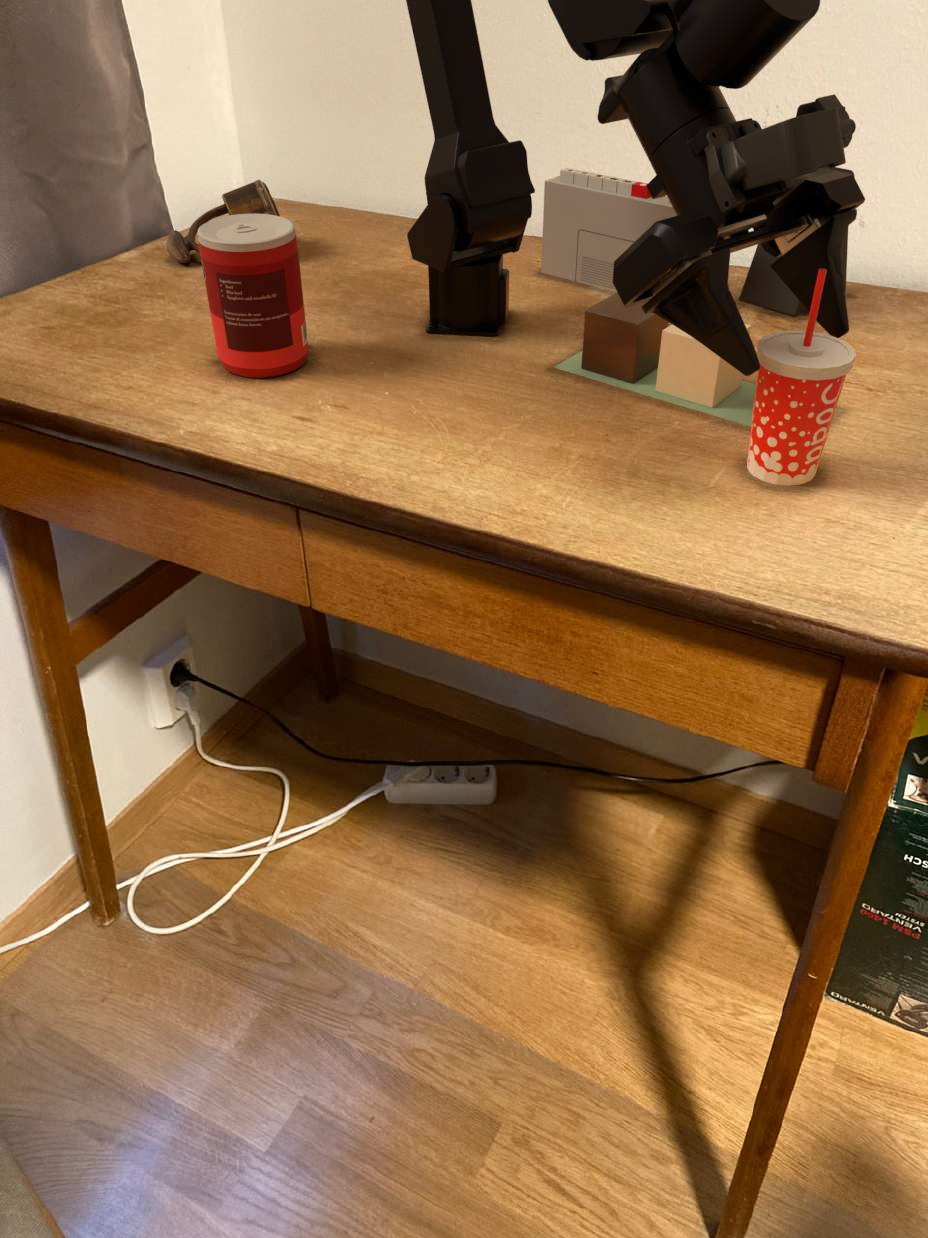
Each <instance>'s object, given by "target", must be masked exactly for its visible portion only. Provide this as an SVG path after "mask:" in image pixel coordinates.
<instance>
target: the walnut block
mask: <svg viewBox="0 0 928 1238" xmlns="http://www.w3.org/2000/svg"><path fill="white" fill-rule="evenodd" d="M648 301H649V300H648ZM648 301H645V302H642V303H639V304H636V305H633V306H630V307H627V308H625V306H624V304H623V302H622V300H621V298H620V296H619V294H618V293H617V292H615V293H614V294H612V295H610V296H609V297H606V298H605V299H602V300H601V301H599V302H597V303H595V304H593V305H592V306H589V307H588V308H586V309H585V310H584V320H583V335H582V349H581V351H582V364H581V369H584V370H588V371H591V372H594V373H598V374H601V375H604V376H608V377H611V378H614V379H618V380H621V381H625V382H628V383H631V384H634V383H635V382H637V381H638V380H640V379H641V378H643V377H645V376H646V375H648V374H649V373H651V372H652V371H654V370H655V369H657V368H658V364H659V356H660V347H661V339H662V331H663V330H664V329H665V328H667V327H669V324H670V323H669V322H668V321H666V320H664V319H663V318H661V317H659V316H658V315H656V314H654V313H649V314H645V313H644V312H643V310H642V309H641V307H642V306H643V305H644V304H645V303H646V302H648Z"/></svg>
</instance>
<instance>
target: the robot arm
mask: <svg viewBox="0 0 928 1238" xmlns="http://www.w3.org/2000/svg"><path fill="white" fill-rule="evenodd" d="M472 2H473V1H472V0H405V3H406V7H407V11H408V16H409V20H410V26H411V30H412V35H413V40H414V44H415V45H414V46H415V49H416V54H417V59H418V65H419V68H420V73H421V79H422V82H423V88H424V93H425V97H426V102H427V106H428V110H429V115H430V116H429V117H430V120H431V125H432V126H431V127H432V130H433V137H434V139H433V140H434V142H433V145H432V149H431V152H430V155H429V159H428V163H427V167H426V169H425V174H424V189H425V195H426V202H427V203H426V206H425V208H424V209H423V211H422V212H421V214H420V215H419V216H418V218H417V219H416V221H415V222H414V223H413V225H412V226H411V228H410V229H409V230H408V232H407V236H406V237H407V242H408V246H409V250H410V254H411V259H412V260H414V261H416V262H419V263H421V264H423V265H426V266H427V270H428V271H427V273H428V299H429V300H428V308H429V309H428V310H429V320H428V322H427V324H426V327H425V333H426V334H428V335H439V336H458V337H459V336H460V337H461V336H462V337H483V338H484V337H485V338H486V337H487V338H497V337H498V336H499V334H500V330H501V327H502V326H503V325H505V324H506V322H507V320H508V315H509V311H510V310H509V309H510V307H509V305H510V270H509V269H508V268H504V255H506V254H511V253H513V254H514V253H517V252H519V251H520V249H521V245H522V241H523V238H524V234H525V230H526V226H527V224H528V221H529V219H531V218H532V215H533V214H532V213H533V201H532V195H531V194H535V192H536V189H535V187H534V184H533V183H532V179H531V175H530V173H529V166H528V165H529V163H528V152H527V151H528V150H527V148H526V147H525V144H524V143H523V141H522V140H521V139H519V140H514V141H509V140H508V138H507V137H506V136H505V135H504V133H503V132H502V131H501V130H500V128H499V127H498V126H497V125H496V122H495V118H494V113H493V107H492V103H491V97H490V92H489V86H488V82H487V81H488V80H487V77H486V71H485V65H484V61H483V56H482V50H481V44H480V41H479V40H480V39H479V34H478V29H477V24H476V19H475V13H474V7H473V3H472ZM547 3H548V6H549V8H550V10H551V12H552V14H553V16H554V17H555V20H556V22H557V24H558V26H559V28H560V30H561V32H562V34H563V36H564V38H565V40H566V42H567V44H568V45H569V47H570V49H571V51H572V52H574V53H575V55H577V56H578V57H579V58H580V59H582V60H584V61H587V62H588V61H592V62H593V61H594V62H595V61H602V60H603V61H604V60H611V59H616V58H621V57H623V58H624V57H629V56H635V55H638V56H637V57H636V58H635V59H634V61H633V62H632V63H631V64H630V66H629V67H628V68H627V69H626V71H625V72H624V73H623V74H621V75H615V76H610V77H607V78H605V80H604V90H603V91H604V92H603V95H602V98H601V100H600V103H599V105H598V111H597V112H598V113H597V121H598V123H599V124H601V125H605V124H611V123H615V122H619V121H624V120H628V121H629V123H630V125H631V127H632V129H633V131H634V133H635V136H636V137H637V139H638V141H639V143H640V145H641V147H642V149H643V151H644V153H645V155H646V157H647V159H648V161H649V163H650V166H651V167H652V169H653V171H654V173H655V176H654V177H653V178H652V179H651V180H650V181H649V182H648V183H647V185H646V187H647V189H648V191H649V193H650V195H651V197H652V199H656V198H659V197H663V196H667V197H668V199H669V201H670V203H671V205H672V207H673V209H674V211H675V213H676V215H677V216H674V217H671V218H667V219H664V220H660V221H656V222H655V223H654V224H653V225H652V226H651V227H650V228H649V229H648V230H647V231H646V232H644V233H643V234H642V235H641V236H640V237H639V238H638V239H637V240H636V241H635V242H634V243H633V244H632V245H631V246H630V247H629V248H628V249H627V250H626V251H625V252H624V253H623V254H622V255H621V256H619V257H618V258H617V259H616V260H615V261H614V268H613V281H612V282H613V284H614V286H615V288H616V290H617V292H618V294H619V296H620V298H621V300H622V302H623V304H624V306H625V308H627V307H630V306H633V305H636V304H639V303H642V302H645V301H648V300H649V301H648V302H646V303H645V304H644V305H643V306H642V307H641V309H642V310H643V312H644V313H645V314H649V313H654V314H656V315H658V316H659V317H661V318H663V319H664V320H666V321H668V322H669V324H670V325H674V326H676V327H677V328H679V329H680V330H682V331H684V332H685V333H687V334H688V335H690V336H691V337H693V338H694V339H696V340H697V341H698V342H700V343H702V344H703V345H704V346H706V347H707V348H708V349H710V350H711V351H712V352H714V353H715V354H716V355H718V356H719V357H720V358H722V359H723V360H725V361H726V362H727V363H729V364H730V365H731V366H733V367H734V368H735V369H737V370H738V371H740V372H741V373H742V374H743V376H744V377H745V376H746V377H750V376H752V375H753V374H755V373H756V372H758V370H759V369H760V363H759V360H758V357H757V354H756V352H757V350H756V347H755V344H754V343H753V340H752V338H751V334H750V335H749V333H748V331H747V329H746V326H745V324H746V323H745V322H744V320H743V317H742V315H741V313H740V310H739V308H738V306H737V304H736V302H735V301H736V300H735V299H734V297H733V294H732V291H731V290H730V287H729V272H730V262H731V261H730V260H731V254H732V253H736V252H738V251H741V250H744V249H748V248H751V247H754V246H757V245H758V244H761V246H762V248H763V250H764V251H766V252H767V253H769V254H770V255H772V256H774V257H775V258H776V257H779V256H781V257H780V258H779V259H777V260H776V261H775V262H773V263H772V264H771V265H770V267H771V268H772V269H773V271H774V272H775V273H776V274H777V275H778V277H779V278H780V279H781V280H782V281H783V282H784V284H785V285H786V286H787V287H788V288H789V289H790V290H791V292H792V293H793V294H794V295H795V296H796V297H797V299H798V300H799V301H800V302H801V303H802V305H803V306H804V307H805V308H806V309H807V310H808V312H809V313H808V314H810V309H811V304H812V300H813V295H814V290H815V285H816V281H817V276H818V271H819V269H821V268H823V269H826V270H827V272H826V277H825V281H824V286H823V291H822V295H821V300H820V305H819V309H818V314H817V319H816V323H818V325H819V326H821V328H822V329H823V330H824V331H825V332H826V333H827V334H828V335H831V336H833V337H836V338H838V339H841V338H842V337H844V336H846V335H847V334H848V333H849V331H850V324H849V322H850V321H849V315H848V308H847V307H848V306H847V299H846V292H845V291H844V283H843V275H842V262H841V246H842V243H843V240H844V237H845V234H846V232H847V229H848V230H849V226H850V225H851V224H853V223H854V222H855V221H856V220H857V216H858V210H857V209H858V208H859V207H860V206H862V205H863V204H864V203H865V201H866V197H865V195H864V193H863V192H862V189H861V187H860V185H859V184H858V182H857V179H856V177H855V178H854V176H855V175H854V176H853V175H852V174H848V173H843V172H839V171H835V172H831V173H827V174H824V175H820V176H817V177H813V178H810V179H806V180H805V181H804V182H802V183H801V184H800V185H799V186H798V187H796V188H795V189H794V190H793V191H792V192H790V193H789V194H788V195H787V196H786V197H784V198H783V199H782V200H781V201H780V202H778V203H777V204H776V205H774V203H773V202H774V201H775V200H776V199H777V198H779V197H782V196H784V195H785V194H786V193H787V192H789V191H790V190H791V189H792V188H793V187H795V186H796V184H795V182H794V180H793V178H796V177H799V176H802V175H805V174H809V173H812V172H816V171H817V170H818V169H819V168H822V167H825V166H828V167H829V168H833V167H840V166H842V165H845V164H846V163H847V160H846V155H845V154H846V153H845V149H846V148H847V147H849V145H850V143H851V141H852V140H853V135H854V133H855V131H856V128H857V126H856V122H855V120H854V119H852V118H850V115H849V113H848V111H847V110H846V106H843V104H842V102H841V101H840V100H839V98H838V97H837V95H836V94H829V95H825V96H820V97H817V98H815V99H814V101H811V102H807V103H803V104H800V105H799V106H798V107H797V110H796V115H795V116H794V117H791V118H788V119H785V120H782V121H779V122H777V123H774V124H772V125H770V126H769V125H768V126H767V127H764V128H762V126H761V125H760V123H759V122H758V121H757V120H755V119H753V118H752V117H749V118H745V119H741V120H736V118H735V115H734V114H733V112H732V109H731V108H730V105H729V104H728V101H727V100H726V98H725V96H724V93H723V92H722V90H721V87H723V88H725V89H731V90H732V89H733V90H738V89H743V88H744V87H746V86H748V84H749V83H750V82H752V81H753V79H754V78H755V77H756V76H758V74H759V73H761V71H763V69H764V68H765V67H766V66H767V65H768V64H769V63H770V62H771V61H772V60H773V59H774V58H775V57H777V55H778V54H779V53H780V52H781V51H782V50H783V49H784V48H785V47H786V46H787V45H788V44H789V43H790V41H791V40H792V39H794V38H795V36H797V34H799V32H800V31H802V29H803V28H804V27H805V26H806V25H807V24H808V23H809V22H810V21H811V20H812V19H813V18H814V17H815V15H816V14H817V13H818V12H819V8H820V5H821V0H547ZM751 229H752V230H751ZM750 230H751V231H750ZM617 292H616V293H617Z"/></svg>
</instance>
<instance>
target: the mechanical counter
mask: <svg viewBox="0 0 928 1238" xmlns="http://www.w3.org/2000/svg"><path fill="white" fill-rule="evenodd" d="M221 199H222V200H223V204H220V205H218V206H216V207H214V208H211V209H210V210H207V211H206V212H205V213H203V214H201V215H200V216H199V217H198V218H196V220H194V222H192V224H191V226H190V228H189V229H188V233H187V234H186V235H185V236H183V234H182V233H181V232H180V231H178V230H176V229H174V230H171V232H169V234H168V236H167V238H166V250H167V253H168V254H169V256H170V257H171V258H172V259H174V261H176V262H177V263H180V264H187V263H189V262H191V251H195V252H196V253H197V254H199V255H200V248H199V243H197V242H196V235H198V229H199V227H200V226H202V225H203V224H205V223H207V222H208V221H211V220H213V219H216V218H220V217H223V216H225V215H227V214H228V216H230V215H237V214H269V215H275V216H280V217H281V215H280V212H279V210H278V208H277V205H276V202H275V200H274V198H273V195H271V192H270V189H269V188H268V185H267V184H266V183H265V182H264V181H262V180H261V179H256V180H255V181H253V182H250V183H247V184H245V185H242V186H240V187H238V188H235V189H232V190H230V191H227V192H225V193H222V195H221Z"/></svg>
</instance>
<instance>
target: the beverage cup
mask: <svg viewBox="0 0 928 1238" xmlns="http://www.w3.org/2000/svg"><path fill="white" fill-rule="evenodd" d="M826 272H827V270H826V269H823V268H821V269H819V271H818V276H817V281H816V285H815V290H814V295H813V300H812V304H811V309H810V313H808V319H807V324H806V329H805V330H795V329H791V330H782V331H781V330H780V331H774V332H771V333H768V334H766V335H763V336H762V337H761V338H760V339H759V340H758V341H757V343H756V354H757V357H758V360H759V363H760V369H759V370H758V371H757V373H756V380H755V381H756V383H755V384H756V390H755V398H754V407H753V416H752V424H751V427H750V433H749V441H748V450H747V451H748V452H747V459H746V467H747V469H746V470H747V471H748V472H749V473H750V474H751V475H752V477H755V478H757V479H759V480H760V481H762V482H765V483H769V484H773V485H776V486H787V487H791V486H798V485H799V486H800V485H803V484H806V483H809V482H810V481H812V480H813V478H814V477H815V476H816V473H817V472H818V471H817V470H818V467H819V464H820V460H821V457H822V455H823V451H824V447H825V444H826V441H827V438H828V435H829V432H830V429H831V428H830V427H831V425H832V422H833V419H834V416H835V412H836V409H837V408H836V407H838V403H839V400H840V396H841V393H842V390H843V387H844V384H845V381H846V377H847V375H848V374H849V373H850V372H851V370H852V369H853V367H854V362H855V361H856V357H857V353H856V350H855V347H854V346H852V345H850V344H849V343H848V342H847V341H846V340H843V339H841V338H836V337H833V336H831V335H830V334H828V333H822V332H817V331H815V328H816V323H817V321H816V319H817V314H818V309H819V305H820V300H821V295H822V291H823V286H824V281H825V277H826Z"/></svg>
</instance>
